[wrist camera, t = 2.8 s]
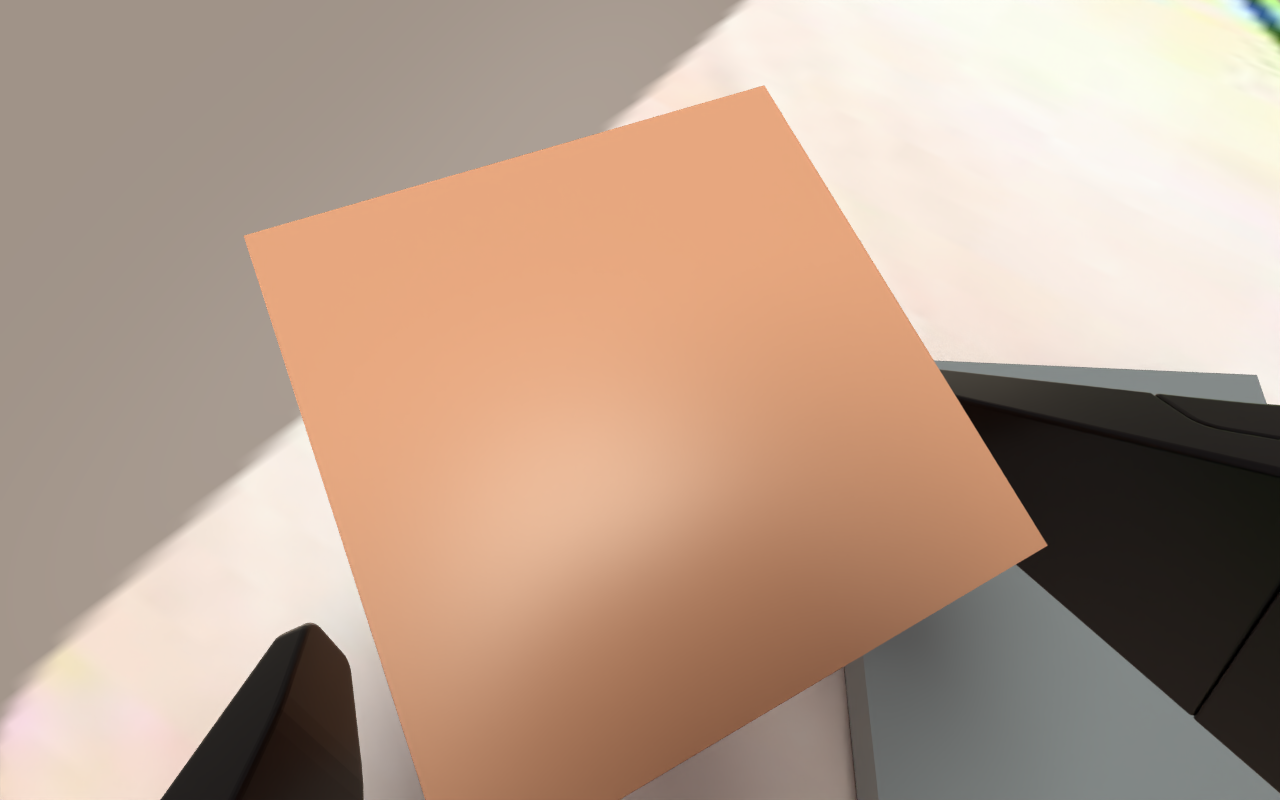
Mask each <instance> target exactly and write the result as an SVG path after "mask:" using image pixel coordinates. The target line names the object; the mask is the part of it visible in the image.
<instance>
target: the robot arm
mask: <svg viewBox="0 0 1280 800" xmlns="http://www.w3.org/2000/svg"><path fill="white" fill-rule="evenodd" d="M939 370H940V372H941V373H942V375H943V376H944V378H945V380H946V381H947V383H948V385H949V386H950V388H951V389H952V391H953V393H954V394H955V396H956V398H957V399H958V401H959V402H960V404H961V406H962V407H963V409H964V411H965V412H966V414H967V415H968V417H969V419H970V420H971V422H972V424H973V425H974V427H975V428H976V430H977V432H978V433H979V435H980V436H981V438H982V440H983V441H984V443H985V445H986V446H987V448H988V449H989V451H990V453H991V454H992V456H993V458H994V459H995V461H996V462H997V464H998V466H999V467H1000V469H1001V471H1002V472H1003V474H1004V475H1005V477H1006V479H1007V480H1008V482H1009V484H1010V485H1011V487H1012V488H1013V490H1014V492H1015V493H1016V495H1017V497H1018V498H1019V500H1020V501H1021V503H1022V505H1023V506H1024V508H1025V510H1026V511H1027V513H1028V514H1029V516H1030V518H1031V519H1032V521H1033V523H1034V524H1035V526H1036V527H1037V529H1038V531H1039V532H1040V534H1041V536H1042V537H1043V539H1044V540H1045V542H1046V544H1047V545H1048V546H1046V547H1044V548H1043V549H1041V550H1039V551H1038V552H1036V553H1034V554H1033V555H1031V556H1029V557H1028V558H1026V559H1024V560H1022V561H1021V562H1019V563H1017V564H1016V565H1017V566H1018V567H1019V568H1020V569H1021V570H1022V571H1024V572H1025V573H1026V574H1027V575H1028V576H1029V577H1031V578H1032V579H1033V580H1034V581H1035V582H1036V583H1038V584H1039V585H1040V586H1041V587H1042V588H1043V589H1044V590H1046V591H1047V592H1048V593H1049V594H1050V595H1051V596H1053V597H1054V598H1055V599H1056V600H1057V601H1058V602H1060V603H1061V604H1062V605H1063V606H1064V607H1065V608H1066V609H1068V610H1069V611H1070V612H1071V613H1072V614H1073V615H1075V616H1076V617H1077V618H1078V619H1079V620H1080V621H1082V622H1083V623H1084V624H1085V625H1086V626H1087V627H1088V628H1090V629H1091V630H1092V631H1093V632H1094V633H1095V634H1097V635H1098V636H1099V637H1100V638H1101V639H1102V640H1104V641H1105V642H1106V643H1107V644H1108V645H1109V646H1110V647H1112V648H1113V649H1114V650H1115V651H1116V652H1117V653H1119V654H1120V655H1121V656H1122V657H1123V658H1124V659H1126V660H1127V661H1128V662H1129V663H1130V664H1131V665H1132V666H1134V667H1135V668H1136V669H1137V670H1138V671H1139V672H1141V673H1142V674H1143V675H1144V676H1145V677H1146V678H1147V679H1149V680H1150V681H1151V682H1152V683H1153V684H1154V685H1156V686H1157V687H1158V688H1159V689H1160V690H1161V691H1163V692H1164V693H1165V694H1166V695H1167V696H1168V697H1169V698H1171V699H1172V700H1173V701H1174V702H1175V703H1176V704H1178V705H1179V706H1180V707H1181V708H1182V709H1183V710H1185V711H1186V712H1187V713H1188V714H1189V715H1192V716H1193V718H1194V719H1195V720H1196V721H1197V722H1198V723H1199V724H1200V725H1201V726H1203V727H1204V728H1205V729H1206V730H1207V731H1208V732H1209V733H1211V734H1212V735H1213V736H1214V737H1215V738H1216V739H1218V740H1219V741H1220V742H1221V743H1222V744H1223V745H1224V746H1226V747H1227V748H1228V749H1229V750H1230V751H1231V752H1233V753H1234V754H1235V755H1236V756H1237V757H1238V758H1240V759H1241V760H1242V761H1243V762H1244V763H1245V764H1246V765H1248V766H1249V767H1250V768H1251V769H1252V770H1253V771H1255V772H1256V773H1257V774H1258V775H1259V776H1260V777H1261V778H1263V779H1264V780H1265V781H1266V782H1267V783H1268V784H1270V785H1271V786H1272V787H1273V788H1274V789H1275V790H1277V791H1278V792H1279V793H1280V405H1271V404H1258V403H1246V402H1236V401H1226V400H1216V399H1206V398H1196V397H1186V396H1177V395H1168V394H1155V395H1154V394H1152V393H1149V392H1140V391H1131V390H1122V389H1113V388H1104V387H1095V386H1086V385H1077V384H1068V383H1059V382H1050V381H1041V380H1032V379H1023V378H1014V377H1005V376H996V375H987V374H978V373H969V372H960V371H951V370H942V369H939ZM161 800H363V776H362V764H361V755H360V746H359V738H358V729H357V720H356V711H355V702H354V693H353V685H352V676H351V669H350V665H349V663H348V660H347V658H346V657H345V655H344V654H343V653H342V651H341V650H340V649H339V648H338V647H337V646H336V645H335V644H334V642H333V641H332V640H331V639H330V638H329V637H328V636H327V635H326V633H325V632H324V631H323V630H322V629H321V628H320V627H319V626H318V625H316V624H314V623H306V624H304V625H301V626H299V627H297V628H295V629H292V630H290V631H288V632H286V633H284V634H282V635H280V636H279V637H278V638H276V640H275V641H274V642H273V643H272V645H271V646H270V648H269V649H268V650H267V652H266V653H265V655H264V656H263V657H262V659H261V660H260V662H259V663H258V664H257V666H256V667H255V669H254V670H253V671H252V673H251V674H250V676H249V677H248V678H247V680H246V681H245V682H244V684H243V685H242V687H241V688H240V689H239V691H238V692H237V694H236V695H235V696H234V698H233V699H232V701H231V702H230V703H229V705H228V706H227V708H226V709H225V710H224V712H223V713H222V715H221V716H220V717H219V719H218V720H217V722H216V723H215V724H214V726H213V727H212V729H211V730H210V731H209V733H208V734H207V736H206V737H205V738H204V740H203V741H202V743H201V744H200V745H199V747H198V748H197V750H196V751H195V752H194V754H193V755H192V757H191V758H190V759H189V761H188V762H187V763H186V765H185V766H184V768H183V769H182V770H181V772H180V773H179V775H178V776H177V777H176V779H175V780H174V782H173V783H172V784H171V786H170V787H169V789H168V790H167V791H166V793H165V794H164V796H163V797H162V798H161Z"/></svg>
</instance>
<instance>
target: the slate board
mask: <svg viewBox="0 0 1280 800" xmlns="http://www.w3.org/2000/svg"><path fill="white" fill-rule="evenodd" d="M934 362H935V363H936V365H937V367H938V368H939V369H942V370H951V371H960V372H969V373H978V374H987V375H996V376H1005V377H1014V378H1023V379H1032V380H1041V381H1050V382H1059V383H1068V384H1077V385H1086V386H1095V387H1104V388H1113V389H1122V390H1131V391H1140V392H1149V393H1152V394H1154V395H1155V394H1168V395H1177V396H1186V397H1196V398H1206V399H1216V400H1226V401H1236V402H1246V403H1258V404H1266V401H1265V398H1264V395H1263V392H1262V389H1261V386H1260V383H1259V380H1258V377H1257V375H1244V374H1221V373H1199V372H1176V371H1154V370H1132V369H1109V368H1087V367H1065V366H1042V365H1020V364H997V363H975V362H953V361H934ZM844 668H845V679H846V689H847V699H848V709H849V719H850V730H851V740H852V750H853V760H854V771H855V781H856V791H857V800H1280V793H1279V792H1278V791H1277V790H1275V789H1274V788H1273V787H1272V786H1271V785H1270V784H1268V783H1267V782H1266V781H1265V780H1264V779H1263V778H1261V777H1260V776H1259V775H1258V774H1257V773H1256V772H1255V771H1253V770H1252V769H1251V768H1250V767H1249V766H1248V765H1246V764H1245V763H1244V762H1243V761H1242V760H1241V759H1240V758H1238V757H1237V756H1236V755H1235V754H1234V753H1233V752H1231V751H1230V750H1229V749H1228V748H1227V747H1226V746H1224V745H1223V744H1222V743H1221V742H1220V741H1219V740H1218V739H1216V738H1215V737H1214V736H1213V735H1212V734H1211V733H1209V732H1208V731H1207V730H1206V729H1205V728H1204V727H1203V726H1201V725H1200V724H1199V723H1198V722H1197V721H1196V720H1195V719H1194V718H1193V716H1192V715H1189V714H1188V713H1187V712H1186V711H1185V710H1183V709H1182V708H1181V707H1180V706H1179V705H1178V704H1176V703H1175V702H1174V701H1173V700H1172V699H1171V698H1169V697H1168V696H1167V695H1166V694H1165V693H1164V692H1163V691H1161V690H1160V689H1159V688H1158V687H1157V686H1156V685H1154V684H1153V683H1152V682H1151V681H1150V680H1149V679H1147V678H1146V677H1145V676H1144V675H1143V674H1142V673H1141V672H1139V671H1138V670H1137V669H1136V668H1135V667H1134V666H1132V665H1131V664H1130V663H1129V662H1128V661H1127V660H1126V659H1124V658H1123V657H1122V656H1121V655H1120V654H1119V653H1117V652H1116V651H1115V650H1114V649H1113V648H1112V647H1110V646H1109V645H1108V644H1107V643H1106V642H1105V641H1104V640H1102V639H1101V638H1100V637H1099V636H1098V635H1097V634H1095V633H1094V632H1093V631H1092V630H1091V629H1090V628H1088V627H1087V626H1086V625H1085V624H1084V623H1083V622H1082V621H1080V620H1079V619H1078V618H1077V617H1076V616H1075V615H1073V614H1072V613H1071V612H1070V611H1069V610H1068V609H1066V608H1065V607H1064V606H1063V605H1062V604H1061V603H1060V602H1058V601H1057V600H1056V599H1055V598H1054V597H1053V596H1051V595H1050V594H1049V593H1048V592H1047V591H1046V590H1044V589H1043V588H1042V587H1041V586H1040V585H1039V584H1038V583H1036V582H1035V581H1034V580H1033V579H1032V578H1031V577H1029V576H1028V575H1027V574H1026V573H1025V572H1024V571H1022V570H1021V569H1020V568H1019V567H1018V566H1017V565H1014V566H1012V567H1011V568H1009V569H1007V570H1006V571H1004V572H1002V573H1001V574H999V575H997V576H996V577H994V578H992V579H990V580H989V581H987V582H985V583H984V584H982V585H980V586H979V587H977V588H975V589H974V590H972V591H970V592H969V593H967V594H965V595H964V596H962V597H960V598H958V599H957V600H955V601H953V602H952V603H950V604H948V605H947V606H945V607H943V608H942V609H940V610H938V611H937V612H935V613H933V614H932V615H930V616H928V617H926V618H925V619H923V620H921V621H920V622H918V623H916V624H915V625H913V626H911V627H910V628H908V629H906V630H905V631H903V632H901V633H900V634H898V635H896V636H894V637H893V638H891V639H889V640H888V641H886V642H884V643H883V644H881V645H879V646H878V647H876V648H874V649H873V650H871V651H869V652H868V653H866V654H864V655H862V656H861V657H859V658H857V659H856V660H854V661H852V662H851V663H849V664H847V665H846V666H844Z"/></svg>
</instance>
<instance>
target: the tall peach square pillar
mask: <svg viewBox="0 0 1280 800" xmlns="http://www.w3.org/2000/svg"><path fill="white" fill-rule="evenodd" d="M244 238H245V241H246V244H247V247H248V250H249V254H250V256H251V260H252V263H253V266H254V269H255V272H256V275H257V278H258V281H259V285H260V288H261V291H262V294H263V297H264V300H265V303H266V306H267V309H268V313H269V315H270V319H271V322H272V325H273V328H274V331H275V334H276V337H277V341H278V344H279V347H280V350H281V353H282V356H283V359H284V362H285V365H286V368H287V371H288V375H289V378H290V381H291V384H292V387H293V390H294V393H295V396H296V399H297V403H298V406H299V409H300V412H301V415H302V418H303V421H304V424H305V427H306V431H307V434H308V437H309V440H310V443H311V446H312V449H313V452H314V455H315V459H316V462H317V465H318V468H319V471H320V474H321V477H322V480H323V483H324V486H325V490H326V493H327V496H328V499H329V502H330V505H331V508H332V511H333V514H334V518H335V521H336V524H337V527H338V530H339V533H340V536H341V539H342V542H343V545H344V549H345V552H346V555H347V558H348V561H349V564H350V567H351V570H352V573H353V577H354V580H355V583H356V586H357V589H358V592H359V595H360V598H361V601H362V605H363V608H364V611H365V614H366V617H367V620H368V623H369V626H370V629H371V632H372V636H373V639H374V642H375V645H376V648H377V651H378V654H379V657H380V660H381V664H382V667H383V670H384V673H385V676H386V679H387V682H388V685H389V688H390V691H391V695H392V698H393V701H394V704H395V707H396V710H397V713H398V716H399V719H400V723H401V726H402V729H403V732H404V735H405V738H406V741H407V744H408V747H409V750H410V754H411V757H412V760H413V763H414V766H415V769H416V772H417V775H418V778H419V782H420V785H421V788H422V791H423V794H424V797H425V800H620V799H622V798H623V797H625V796H627V795H628V794H630V793H632V792H633V791H635V790H637V789H639V788H640V787H642V786H644V785H645V784H647V783H649V782H650V781H652V780H654V779H655V778H657V777H659V776H660V775H662V774H664V773H665V772H667V771H669V770H671V769H672V768H674V767H676V766H677V765H679V764H681V763H682V762H684V761H686V760H687V759H689V758H691V757H692V756H694V755H696V754H697V753H699V752H701V751H703V750H704V749H706V748H708V747H709V746H711V745H713V744H714V743H716V742H718V741H719V740H721V739H723V738H724V737H726V736H728V735H729V734H731V733H733V732H735V731H736V730H738V729H740V728H741V727H743V726H745V725H746V724H748V723H750V722H751V721H753V720H755V719H756V718H758V717H760V716H761V715H763V714H765V713H767V712H768V711H770V710H772V709H773V708H775V707H777V706H778V705H780V704H782V703H783V702H785V701H787V700H788V699H790V698H792V697H793V696H795V695H797V694H799V693H800V692H802V691H804V690H805V689H807V688H809V687H810V686H812V685H814V684H815V683H817V682H819V681H820V680H822V679H824V678H825V677H827V676H829V675H831V674H832V673H834V672H836V671H837V670H839V669H841V668H842V667H844V666H846V665H847V664H849V663H851V662H852V661H854V660H856V659H857V658H859V657H861V656H862V655H864V654H866V653H868V652H869V651H871V650H873V649H874V648H876V647H878V646H879V645H881V644H883V643H884V642H886V641H888V640H889V639H891V638H893V637H894V636H896V635H898V634H900V633H901V632H903V631H905V630H906V629H908V628H910V627H911V626H913V625H915V624H916V623H918V622H920V621H921V620H923V619H925V618H926V617H928V616H930V615H932V614H933V613H935V612H937V611H938V610H940V609H942V608H943V607H945V606H947V605H948V604H950V603H952V602H953V601H955V600H957V599H958V598H960V597H962V596H964V595H965V594H967V593H969V592H970V591H972V590H974V589H975V588H977V587H979V586H980V585H982V584H984V583H985V582H987V581H989V580H990V579H992V578H994V577H996V576H997V575H999V574H1001V573H1002V572H1004V571H1006V570H1007V569H1009V568H1011V567H1012V566H1014V565H1016V564H1017V563H1019V562H1021V561H1022V560H1024V559H1026V558H1028V557H1029V556H1031V555H1033V554H1034V553H1036V552H1038V551H1039V550H1041V549H1043V548H1044V547H1046V546H1048V545H1047V544H1046V542H1045V540H1044V539H1043V537H1042V536H1041V534H1040V532H1039V531H1038V529H1037V527H1036V526H1035V524H1034V523H1033V521H1032V519H1031V518H1030V516H1029V514H1028V513H1027V511H1026V510H1025V508H1024V506H1023V505H1022V503H1021V501H1020V500H1019V498H1018V497H1017V495H1016V493H1015V492H1014V490H1013V488H1012V487H1011V485H1010V484H1009V482H1008V480H1007V479H1006V477H1005V475H1004V474H1003V472H1002V471H1001V469H1000V467H999V466H998V464H997V462H996V461H995V459H994V458H993V456H992V454H991V453H990V451H989V449H988V448H987V446H986V445H985V443H984V441H983V440H982V438H981V436H980V435H979V433H978V432H977V430H976V428H975V427H974V425H973V424H972V422H971V420H970V419H969V417H968V415H967V414H966V412H965V411H964V409H963V407H962V406H961V404H960V402H959V401H958V399H957V398H956V396H955V394H954V393H953V391H952V389H951V388H950V386H949V385H948V383H947V381H946V380H945V378H944V376H943V375H942V373H941V372H940V370H939V368H938V367H937V365H936V363H935V362H934V360H933V359H932V357H931V355H930V354H929V352H928V350H927V349H926V347H925V346H924V344H923V342H922V341H921V339H920V337H919V336H918V334H917V333H916V331H915V329H914V328H913V326H912V325H911V323H910V321H909V320H908V318H907V316H906V315H905V313H904V312H903V310H902V308H901V307H900V305H899V303H898V302H897V300H896V299H895V297H894V295H893V294H892V292H891V290H890V289H889V287H888V286H887V284H886V282H885V281H884V279H883V277H882V276H881V274H880V273H879V271H878V269H877V268H876V266H875V264H874V263H873V261H872V260H871V258H870V256H869V255H868V253H867V251H866V250H865V248H864V247H863V245H862V243H861V242H860V240H859V238H858V237H857V235H856V234H855V232H854V230H853V229H852V227H851V225H850V224H849V222H848V221H847V219H846V217H845V216H844V214H843V213H842V211H841V209H840V208H839V206H838V204H837V203H836V201H835V200H834V198H833V196H832V195H831V193H830V191H829V190H828V188H827V187H826V185H825V183H824V182H823V180H822V178H821V177H820V175H819V174H818V172H817V170H816V169H815V167H814V165H813V164H812V162H811V161H810V159H809V157H808V156H807V154H806V152H805V151H804V149H803V148H802V146H801V144H800V143H799V141H798V139H797V138H796V136H795V135H794V133H793V131H792V130H791V128H790V126H789V125H788V123H787V122H786V120H785V118H784V117H783V115H782V114H781V112H780V110H779V109H778V107H777V105H776V104H775V102H774V101H773V99H772V97H771V96H770V94H769V92H768V91H767V89H766V88H765V86H761V87H757V88H754V89H750V90H747V91H743V92H740V93H736V94H733V95H729V96H726V97H723V98H719V99H716V100H712V101H709V102H705V103H702V104H698V105H695V106H691V107H688V108H684V109H681V110H678V111H674V112H671V113H667V114H664V115H660V116H657V117H653V118H650V119H646V120H643V121H639V122H636V123H632V124H629V125H626V126H622V127H619V128H615V129H612V130H608V131H605V132H601V133H598V134H595V135H591V136H588V137H584V138H581V139H577V140H574V141H570V142H567V143H563V144H560V145H556V146H553V147H550V148H546V149H542V150H539V151H536V152H532V153H529V154H525V155H522V156H518V157H515V158H512V159H508V160H505V161H501V162H497V163H494V164H491V165H487V166H484V167H481V168H477V169H473V170H470V171H466V172H463V173H459V174H456V175H452V176H449V177H446V178H442V179H439V180H435V181H432V182H428V183H425V184H422V185H418V186H415V187H411V188H408V189H404V190H400V191H397V192H393V193H390V194H387V195H383V196H380V197H376V198H373V199H369V200H366V201H362V202H359V203H355V204H352V205H348V206H345V207H342V208H338V209H335V210H331V211H328V212H324V213H321V214H317V215H314V216H310V217H307V218H304V219H300V220H296V221H293V222H290V223H286V224H283V225H279V226H276V227H272V228H269V229H266V230H262V231H258V232H255V233H252V234H248V235H245V236H244Z"/></svg>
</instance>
